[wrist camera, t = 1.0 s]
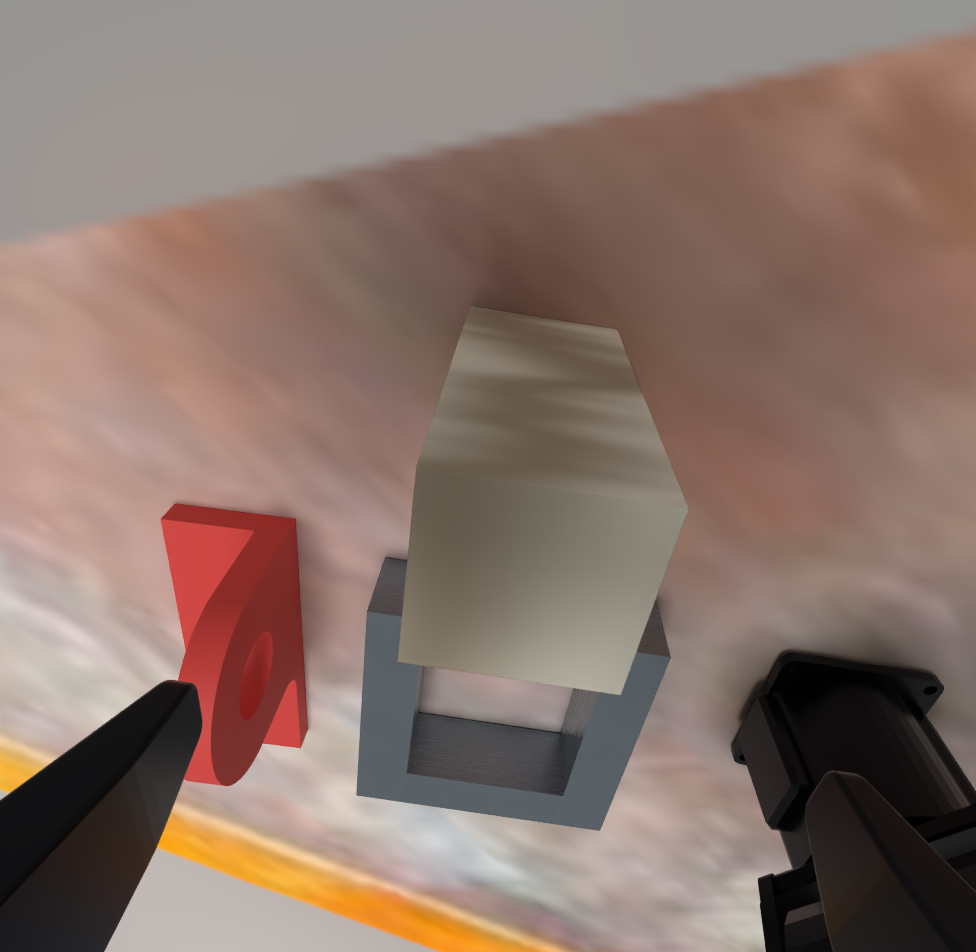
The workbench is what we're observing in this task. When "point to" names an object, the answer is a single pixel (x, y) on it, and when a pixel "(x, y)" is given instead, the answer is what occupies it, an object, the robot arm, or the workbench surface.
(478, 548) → the birch peg
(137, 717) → the robot arm
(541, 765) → the plate
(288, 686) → the bracket
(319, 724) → the workbench surface
